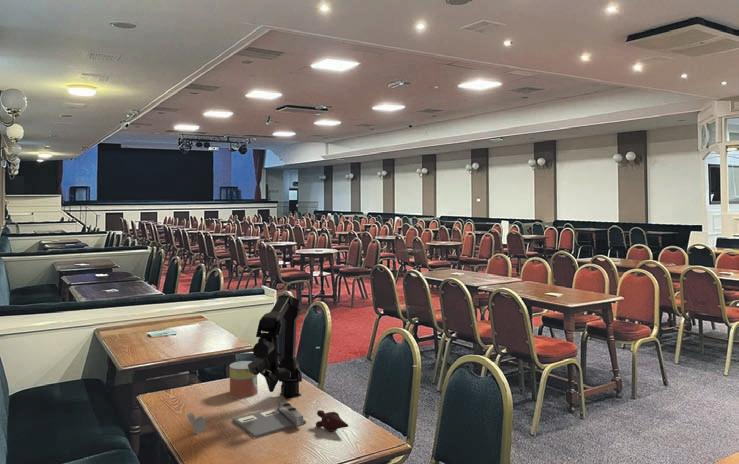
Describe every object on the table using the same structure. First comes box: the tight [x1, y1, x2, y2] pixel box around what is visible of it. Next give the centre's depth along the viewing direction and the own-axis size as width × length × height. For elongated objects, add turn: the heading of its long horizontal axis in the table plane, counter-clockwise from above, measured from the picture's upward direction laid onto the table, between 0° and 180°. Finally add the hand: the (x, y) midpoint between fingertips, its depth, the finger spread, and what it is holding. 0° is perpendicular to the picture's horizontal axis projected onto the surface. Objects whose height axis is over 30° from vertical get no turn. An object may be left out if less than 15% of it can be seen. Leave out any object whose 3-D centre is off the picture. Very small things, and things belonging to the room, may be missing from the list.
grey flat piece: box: [186, 412, 207, 435], centre depth 192 cm, size 7×2×8 cm, turn 151°
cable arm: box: [277, 399, 304, 426], centre depth 203 cm, size 18×3×3 cm, turn 31°
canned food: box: [228, 360, 258, 399], centre depth 230 cm, size 11×11×12 cm
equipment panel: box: [231, 406, 307, 439], centre depth 201 cm, size 20×18×1 cm
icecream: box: [315, 409, 349, 433], centre depth 194 cm, size 7×7×15 cm
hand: (271, 391), depth 205 cm, fingers closed
